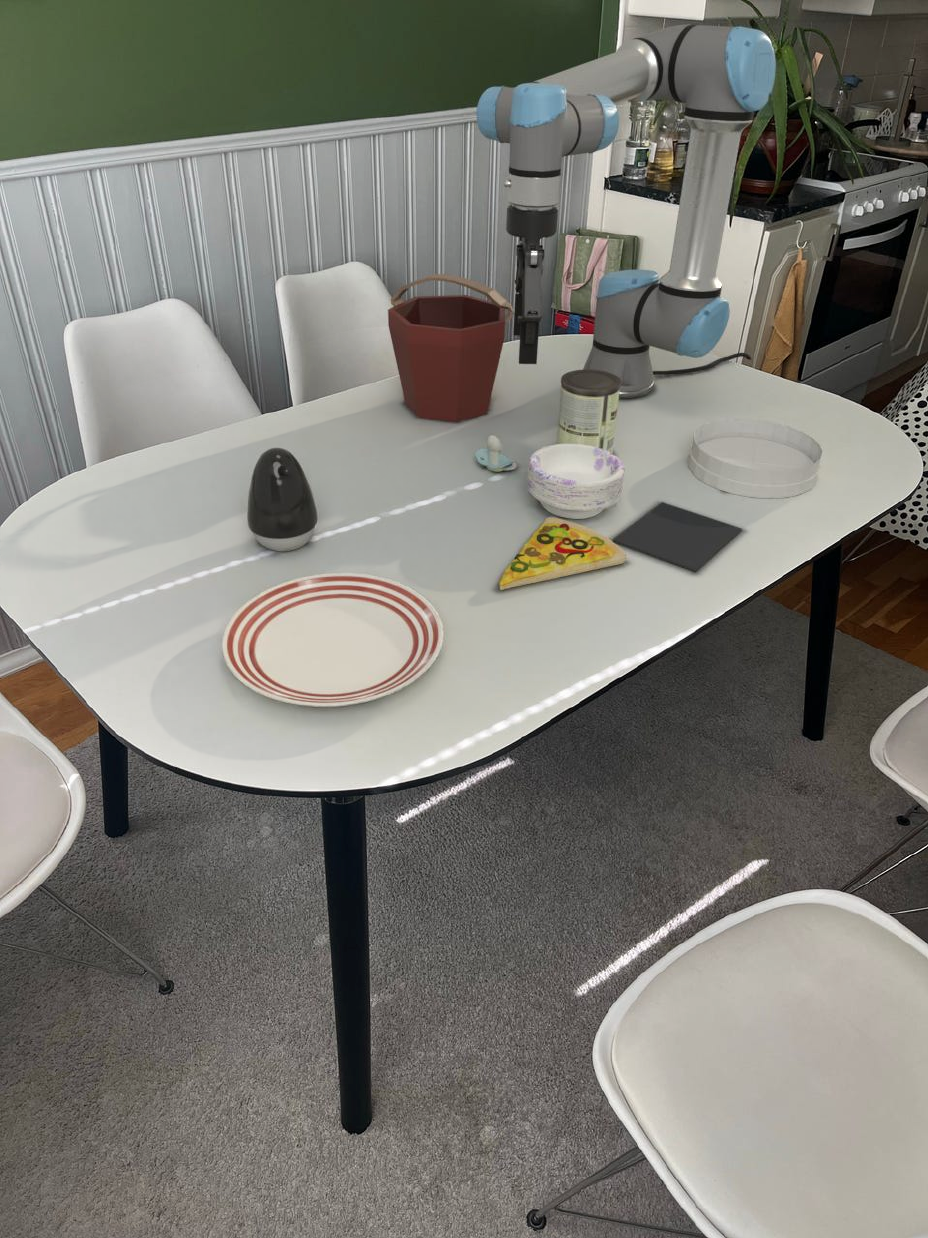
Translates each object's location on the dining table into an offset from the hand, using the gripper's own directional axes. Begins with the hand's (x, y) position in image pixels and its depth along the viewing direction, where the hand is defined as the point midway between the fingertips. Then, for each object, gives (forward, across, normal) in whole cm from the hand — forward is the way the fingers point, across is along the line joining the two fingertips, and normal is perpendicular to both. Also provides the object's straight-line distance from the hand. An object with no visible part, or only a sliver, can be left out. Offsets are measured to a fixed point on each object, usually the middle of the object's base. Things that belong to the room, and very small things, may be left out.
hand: (524, 348), depth 150 cm
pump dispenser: (+22, +24, -36) cm, 49 cm away
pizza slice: (+22, +29, +3) cm, 37 cm away
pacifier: (+22, -3, -3) cm, 23 cm away
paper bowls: (+22, +11, +8) cm, 26 cm away
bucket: (+22, -31, -12) cm, 40 cm away
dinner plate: (+22, +51, -26) cm, 62 cm away
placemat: (+22, +21, +24) cm, 38 cm away
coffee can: (+22, -9, +13) cm, 27 cm away
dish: (+22, -3, +42) cm, 47 cm away
